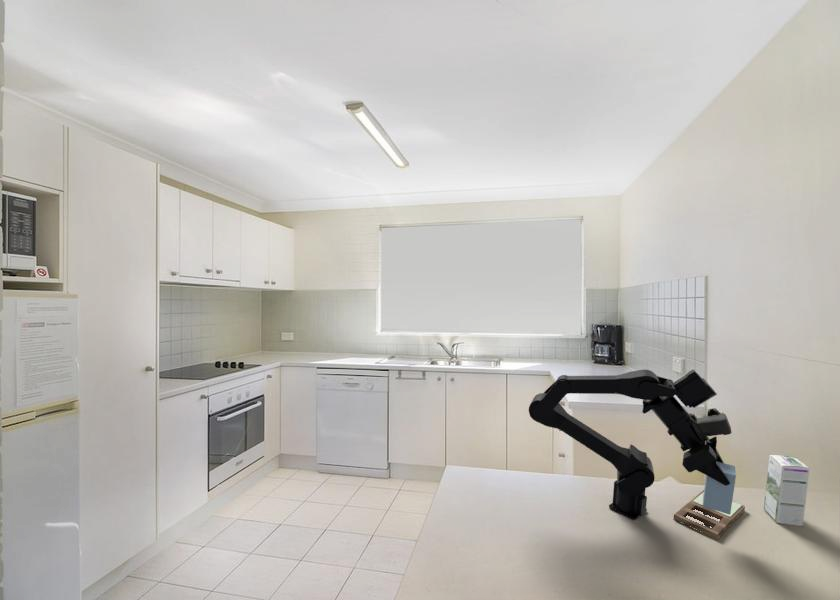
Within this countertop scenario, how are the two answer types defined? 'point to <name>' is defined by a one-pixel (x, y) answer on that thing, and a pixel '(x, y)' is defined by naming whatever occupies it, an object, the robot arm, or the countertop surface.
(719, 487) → the blue block
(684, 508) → the board
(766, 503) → the syrup box
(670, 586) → the countertop surface
